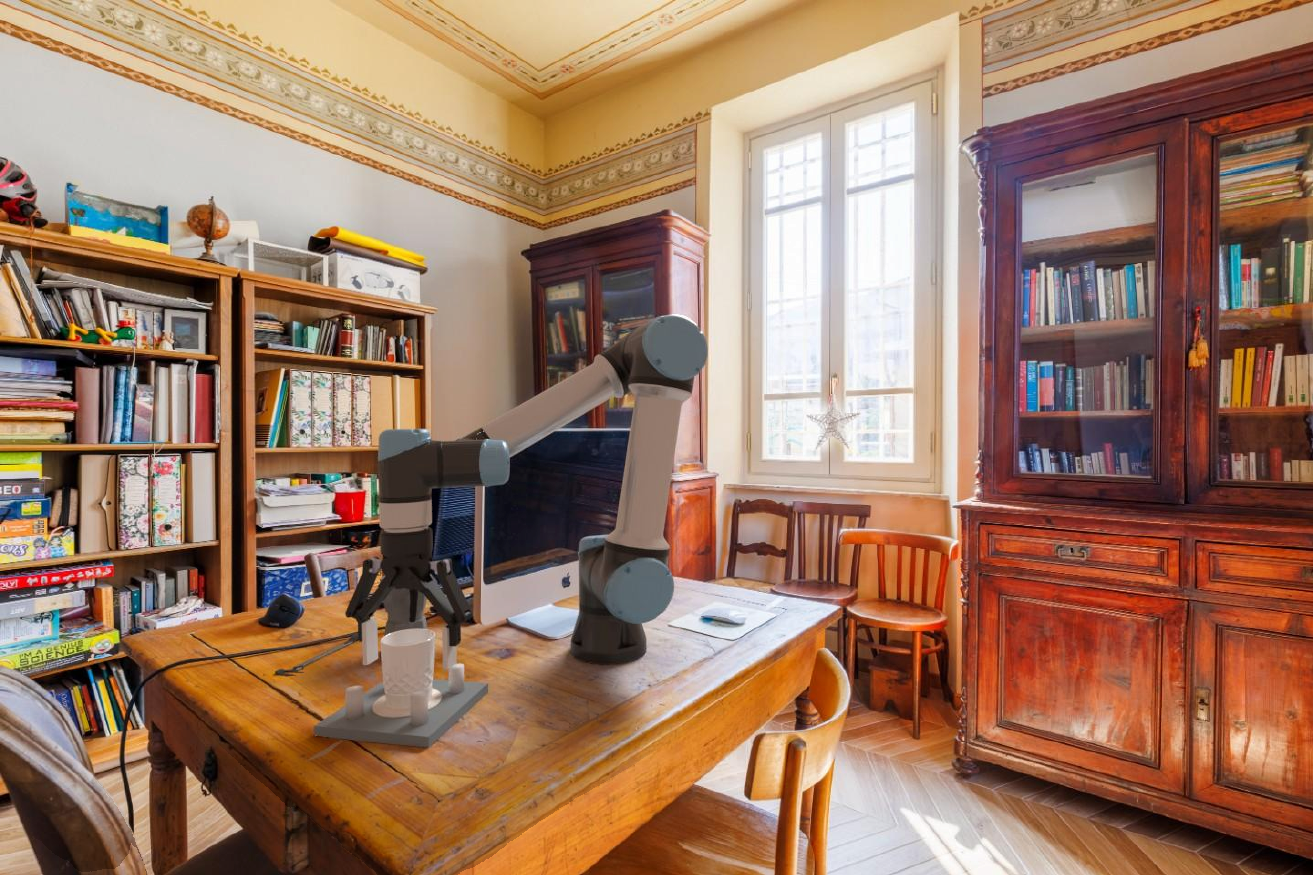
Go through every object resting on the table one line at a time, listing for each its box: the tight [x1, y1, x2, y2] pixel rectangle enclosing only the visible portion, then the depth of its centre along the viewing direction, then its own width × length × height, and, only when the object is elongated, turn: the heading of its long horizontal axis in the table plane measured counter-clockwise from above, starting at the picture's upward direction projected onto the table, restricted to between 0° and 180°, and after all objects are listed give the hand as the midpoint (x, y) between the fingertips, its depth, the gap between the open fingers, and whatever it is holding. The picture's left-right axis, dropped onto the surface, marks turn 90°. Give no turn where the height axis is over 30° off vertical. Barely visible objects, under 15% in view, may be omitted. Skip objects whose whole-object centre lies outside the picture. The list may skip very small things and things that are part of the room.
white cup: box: [380, 628, 436, 710], centre depth 93 cm, size 8×8×10 cm
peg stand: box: [313, 663, 489, 748], centre depth 93 cm, size 18×18×6 cm
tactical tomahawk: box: [274, 632, 359, 677], centre depth 117 cm, size 21×7×1 cm, turn 166°
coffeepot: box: [379, 575, 428, 637], centre depth 118 cm, size 15×9×18 cm, turn 33°
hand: (409, 664), depth 93 cm, fingers open, 13 cm apart
